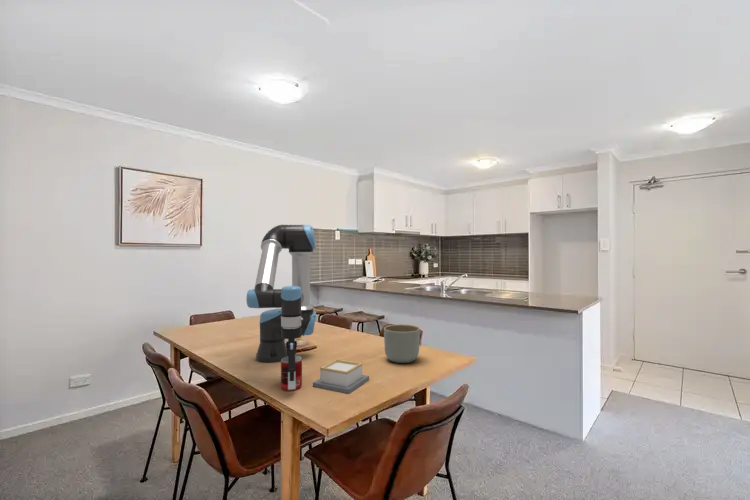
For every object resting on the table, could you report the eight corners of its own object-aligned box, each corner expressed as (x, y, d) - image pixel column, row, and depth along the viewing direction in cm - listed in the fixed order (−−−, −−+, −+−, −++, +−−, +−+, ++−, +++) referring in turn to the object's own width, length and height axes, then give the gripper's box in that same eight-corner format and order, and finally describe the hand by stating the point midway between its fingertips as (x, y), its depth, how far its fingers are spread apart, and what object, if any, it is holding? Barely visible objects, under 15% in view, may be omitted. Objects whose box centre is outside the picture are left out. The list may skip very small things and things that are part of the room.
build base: (312, 386, 140) (312, 368, 140) (335, 373, 154) (335, 357, 154) (348, 393, 133) (348, 374, 133) (369, 379, 147) (369, 362, 147)
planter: (376, 359, 174) (376, 327, 174) (403, 353, 185) (403, 323, 185) (400, 368, 161) (400, 333, 161) (427, 361, 171) (427, 328, 171)
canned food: (304, 383, 143) (304, 355, 143) (298, 391, 135) (298, 361, 135) (285, 383, 144) (285, 355, 144) (278, 390, 136) (278, 361, 136)
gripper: (302, 333, 128) (302, 394, 128) (300, 320, 152) (300, 371, 152) (280, 334, 126) (280, 396, 126) (281, 321, 150) (281, 372, 150)
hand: (291, 382), depth 139 cm, fingers open, 13 cm apart
